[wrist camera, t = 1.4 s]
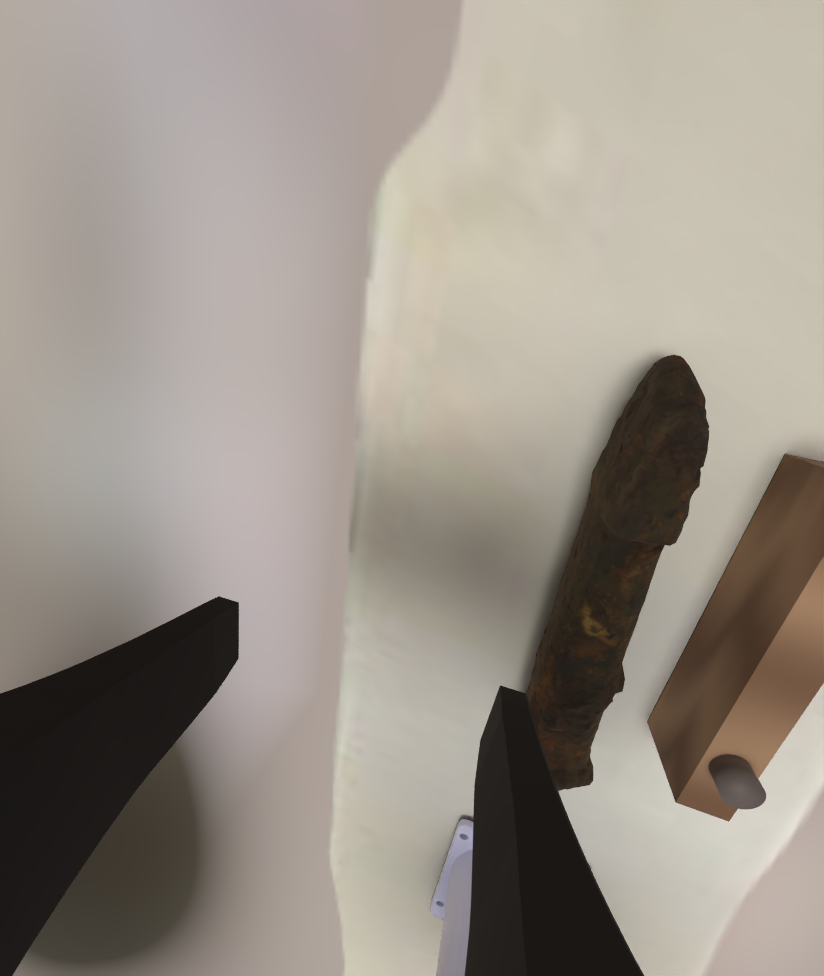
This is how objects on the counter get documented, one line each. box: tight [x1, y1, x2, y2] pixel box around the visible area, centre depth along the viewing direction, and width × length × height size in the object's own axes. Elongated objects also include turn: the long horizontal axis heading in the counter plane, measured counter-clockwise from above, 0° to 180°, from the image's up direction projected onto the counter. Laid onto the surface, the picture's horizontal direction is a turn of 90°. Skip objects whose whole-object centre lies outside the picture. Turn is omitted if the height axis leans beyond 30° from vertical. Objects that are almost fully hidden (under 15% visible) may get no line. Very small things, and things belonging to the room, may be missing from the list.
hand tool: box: [527, 355, 709, 790], centre depth 17 cm, size 19×4×5 cm, turn 170°
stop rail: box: [648, 454, 824, 821], centre depth 16 cm, size 14×2×5 cm, turn 169°
